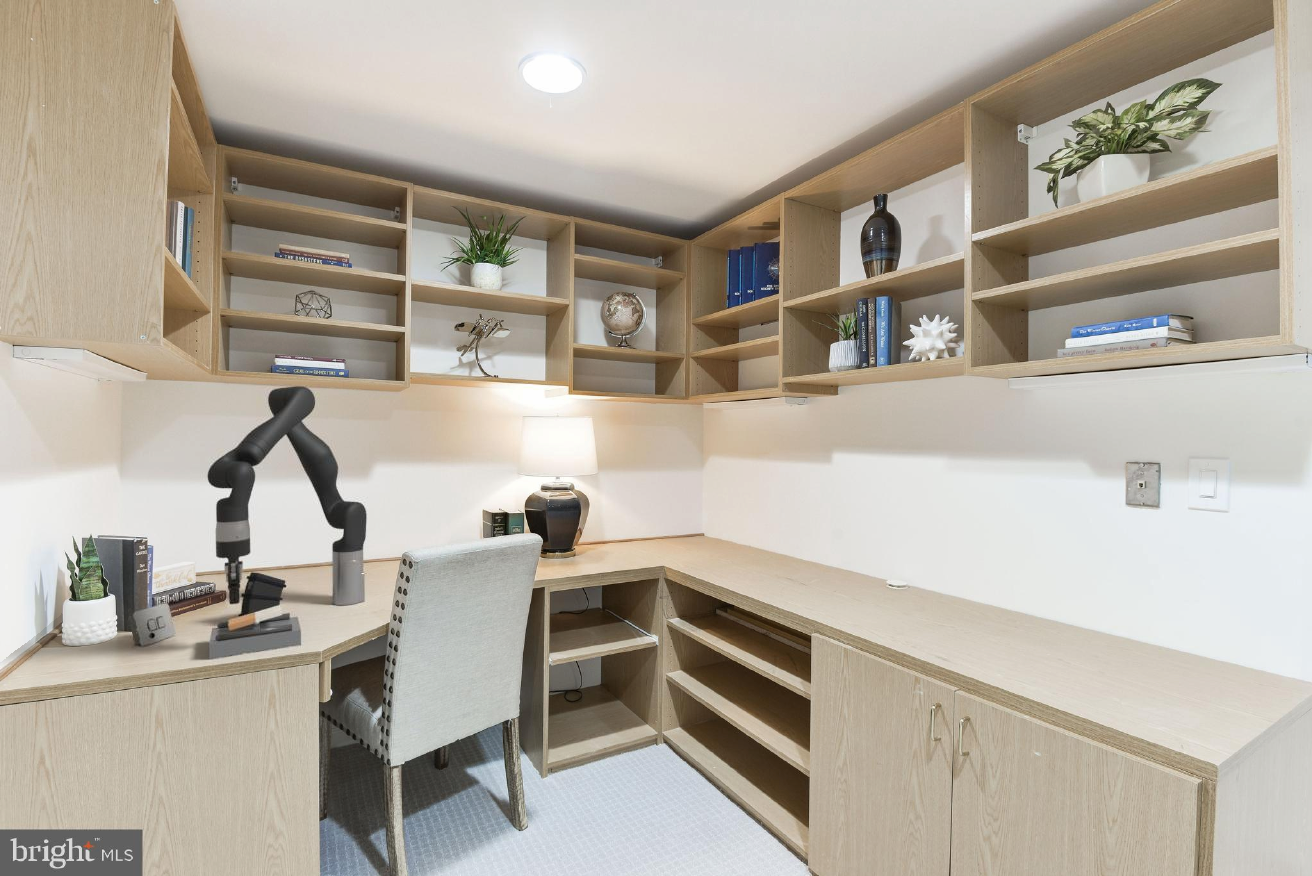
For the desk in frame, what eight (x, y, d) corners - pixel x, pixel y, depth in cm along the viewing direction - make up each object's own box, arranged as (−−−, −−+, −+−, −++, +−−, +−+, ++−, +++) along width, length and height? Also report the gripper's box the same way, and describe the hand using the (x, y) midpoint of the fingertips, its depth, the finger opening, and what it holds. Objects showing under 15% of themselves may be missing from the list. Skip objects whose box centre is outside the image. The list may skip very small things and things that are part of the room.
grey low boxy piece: (297, 630, 182) (297, 611, 182) (301, 644, 170) (300, 624, 170) (212, 643, 171) (212, 622, 171) (209, 659, 159) (209, 637, 159)
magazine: (228, 624, 182) (248, 571, 188) (265, 631, 194) (282, 581, 200) (239, 625, 181) (258, 572, 187) (274, 632, 193) (292, 582, 199)
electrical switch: (143, 647, 168) (140, 612, 168) (127, 647, 169) (124, 612, 169) (176, 636, 177) (173, 602, 177) (161, 636, 178) (158, 603, 178)
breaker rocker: (281, 611, 176) (280, 604, 176) (282, 617, 171) (281, 609, 171) (230, 626, 170) (228, 619, 170) (230, 632, 165) (228, 625, 165)
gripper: (250, 540, 164) (251, 607, 164) (250, 532, 175) (251, 595, 175) (214, 543, 160) (216, 612, 160) (216, 535, 171) (218, 599, 171)
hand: (234, 603), depth 168 cm, fingers closed
